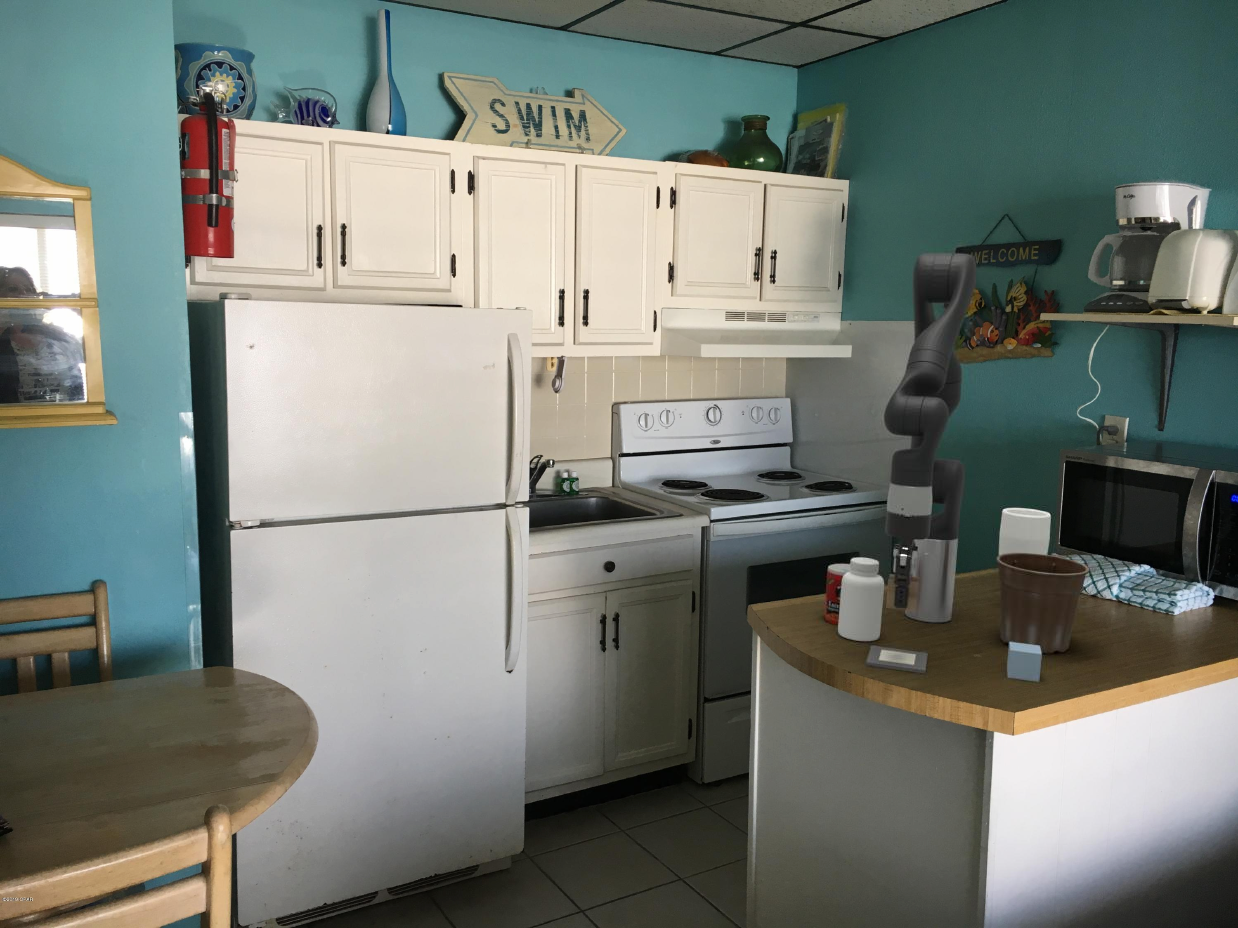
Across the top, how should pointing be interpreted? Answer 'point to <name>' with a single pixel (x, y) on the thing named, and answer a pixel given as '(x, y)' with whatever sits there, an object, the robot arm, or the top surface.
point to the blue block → (1024, 661)
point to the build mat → (897, 659)
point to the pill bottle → (861, 601)
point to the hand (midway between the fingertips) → (901, 603)
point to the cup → (1024, 531)
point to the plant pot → (1039, 599)
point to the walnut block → (911, 594)
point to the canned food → (834, 591)
